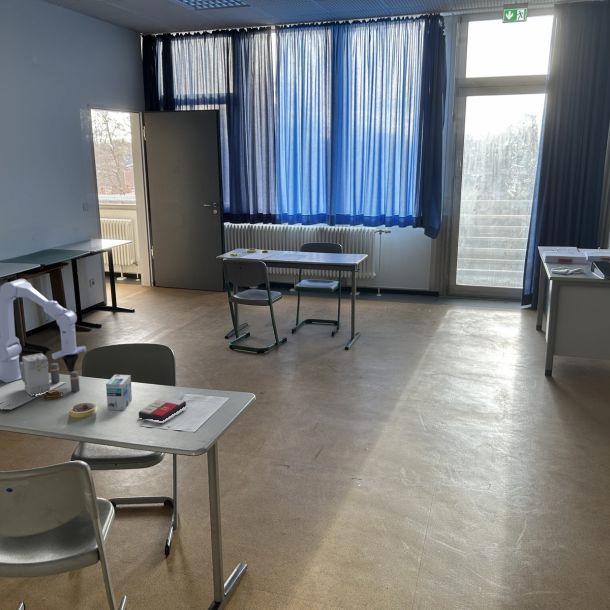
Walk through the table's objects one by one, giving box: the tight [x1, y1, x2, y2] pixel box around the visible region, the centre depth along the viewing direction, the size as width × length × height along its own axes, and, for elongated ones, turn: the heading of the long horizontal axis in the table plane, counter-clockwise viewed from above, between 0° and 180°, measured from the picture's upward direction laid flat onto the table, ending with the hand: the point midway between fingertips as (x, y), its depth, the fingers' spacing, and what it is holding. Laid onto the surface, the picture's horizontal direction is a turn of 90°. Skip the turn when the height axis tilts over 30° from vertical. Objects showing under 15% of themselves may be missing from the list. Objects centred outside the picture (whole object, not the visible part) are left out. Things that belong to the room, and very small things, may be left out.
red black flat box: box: [138, 396, 187, 421], centre depth 228 cm, size 11×4×15 cm
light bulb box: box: [105, 374, 133, 411], centre depth 234 cm, size 11×7×11 cm, turn 179°
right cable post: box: [69, 370, 80, 393], centre depth 248 cm, size 3×3×8 cm
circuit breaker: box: [19, 352, 51, 396], centre depth 247 cm, size 8×14×15 cm, turn 40°
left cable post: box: [49, 362, 61, 384], centre depth 256 cm, size 3×3×8 cm
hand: (70, 371), depth 254 cm, fingers closed
